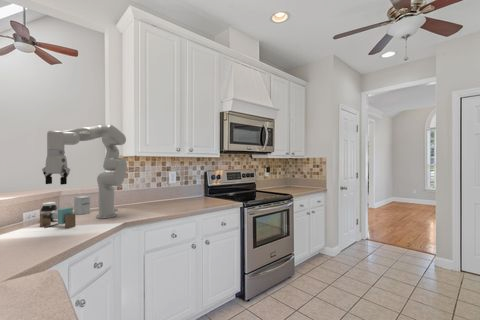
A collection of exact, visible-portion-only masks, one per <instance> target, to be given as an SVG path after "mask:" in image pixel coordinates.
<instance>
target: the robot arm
mask: <svg viewBox="0 0 480 320" xmlns="http://www.w3.org/2000/svg"><path fill="white" fill-rule="evenodd" d="M95 139H101V142H102V144H103V145H104V147H105V149H106V150H105V151H106V152H105V157H104V162H103V167H102V168H103V169H104V172H101V173H99V174H98V175H97V178H96V181H97V186H98V214H97V215H96V216H95V218H96V219H110V218H114V217H116V216H117V213H116V212H118V211H119V209H118V208H115V190H114V188H113V187H119V186H122V184H123V183H124V181H125V177H126V172H127V168H128V163H127V160H126V159H124V158H123V157H120V150H119V148H118V147H117V146H123V145H125V144H126V142H127V138H126V136H125V134H124V133H123V132H122V131H121V130H119V129H118V128H117V127H115V126H114V125H113V124H109V123H108V124H95V125H90V126H84V127H80V128H75V129H74V128H73V129H68V130H66V129H65V130H62V131H61V130H48V131H47V133H46V158H45V159H46V160H45V167H43V168H42V169H41V171H42V174H43V176H44V179H45V184H46V185H51V184H53V174H54V175H55V174H56V175H57V174H58V175H60V182H59V183H60V185H62V186H63V185H67V183H68V182H67V181H68V180H67V179H68V176H69V174H70V172H71V168H69V167H68V160H67V156H66V155H65V154H66V152H65V146H73V145H77V144H79V143H80V142H87V141H92V140H95ZM106 171H107V172H106Z"/></svg>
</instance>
